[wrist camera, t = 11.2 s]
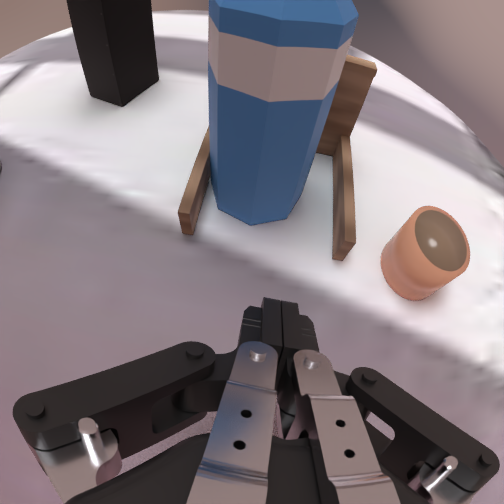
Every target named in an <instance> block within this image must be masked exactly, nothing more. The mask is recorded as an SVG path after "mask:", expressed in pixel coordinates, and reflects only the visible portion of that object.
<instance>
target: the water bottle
mask: <svg viewBox="0 0 504 504" xmlns="http://www.w3.org/2000/svg"><path fill="white" fill-rule="evenodd" d="M358 16H359V15H358V13H357V10H356V8H355V6H354V4H353V2H352V0H209V31H208V87H209V140H210V171H211V183H212V187H213V191H214V195H215V199H216V203H217V207H218V209H220V210H221V211H223V212H225V213H227V214H229V215H231V216H233V217H235V218H237V219H239V220H241V221H243V222H244V223H246V224H248V225H250V226H251V225H256V224H261V223H267V222H272V221H277V220H283V219H286V218H287V217H288V215H289V214H290V212H291V210H292V209H293V207H294V205H295V204H296V202H297V201H298V199H299V197H300V196H301V194H302V191H303V188H304V185H305V182H306V179H307V176H308V173H309V170H310V168H311V165H312V162H313V159H314V156H315V153H316V150H317V147H318V144H319V141H320V138H321V135H322V132H323V129H324V125H325V122H326V119H327V116H328V113H329V110H330V107H331V104H332V101H333V98H334V95H335V91H336V88H337V85H338V82H339V79H340V76H341V72H342V69H343V66H344V63H345V59H346V56H347V53H348V50H349V46H350V43H351V40H352V36H353V33H354V30H355V26H356V23H357V19H358Z"/></svg>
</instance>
